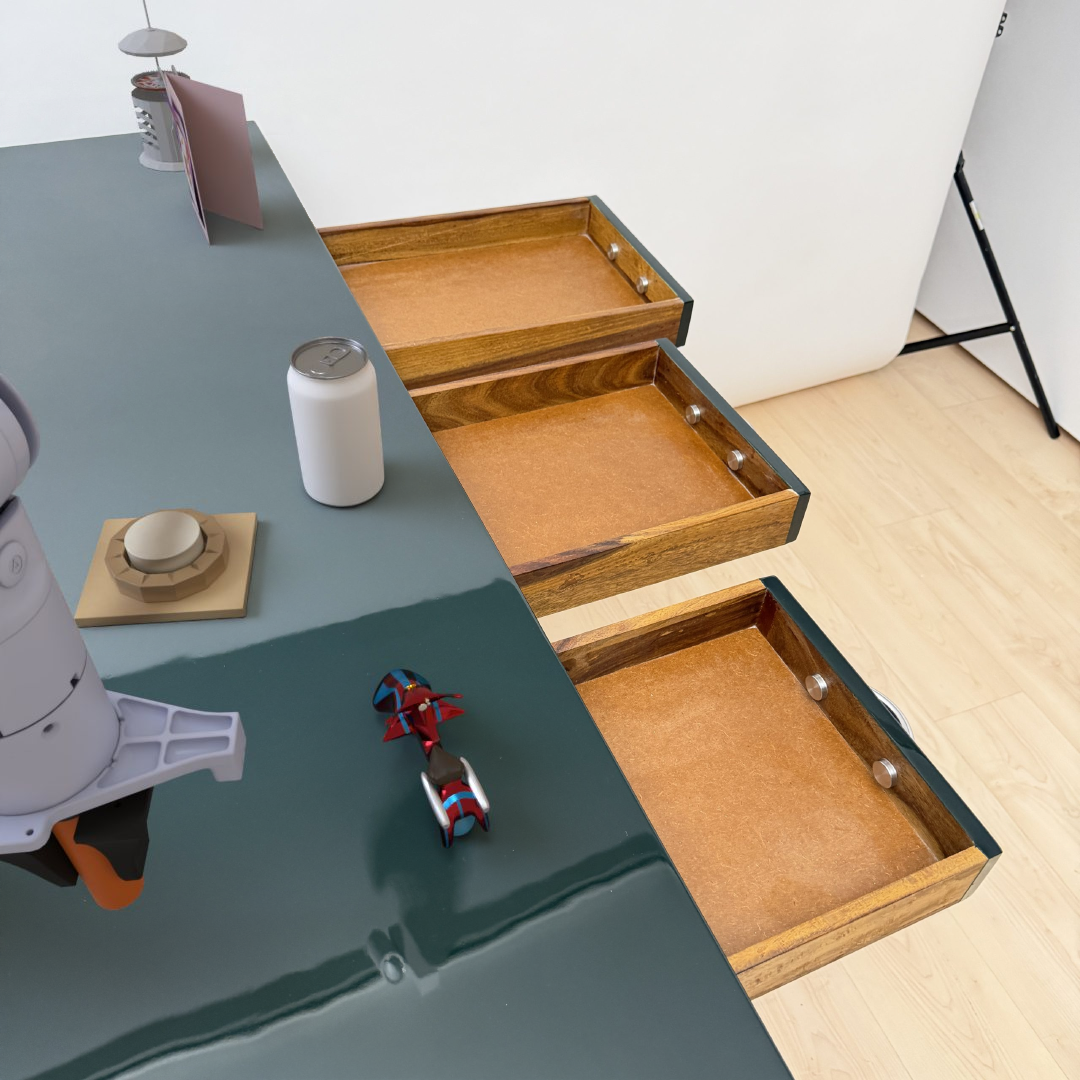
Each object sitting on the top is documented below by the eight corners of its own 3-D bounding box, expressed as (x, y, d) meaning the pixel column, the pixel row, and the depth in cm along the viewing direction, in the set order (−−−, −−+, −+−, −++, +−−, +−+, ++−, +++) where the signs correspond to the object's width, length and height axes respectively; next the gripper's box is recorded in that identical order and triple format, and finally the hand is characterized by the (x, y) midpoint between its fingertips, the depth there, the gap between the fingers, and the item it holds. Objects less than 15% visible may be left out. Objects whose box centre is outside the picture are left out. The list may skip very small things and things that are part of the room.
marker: (88, 913, 41) (22, 812, 35) (99, 866, 43) (38, 761, 37) (140, 908, 41) (84, 807, 35) (149, 861, 43) (97, 757, 37)
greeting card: (185, 206, 109) (156, 72, 99) (247, 198, 112) (225, 67, 101) (201, 246, 102) (172, 106, 91) (267, 237, 104) (246, 100, 94)
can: (288, 495, 72) (265, 367, 63) (331, 451, 76) (315, 325, 68) (359, 519, 70) (344, 390, 62) (399, 472, 74) (390, 346, 66)
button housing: (77, 627, 61) (65, 602, 59) (108, 527, 68) (99, 502, 66) (245, 617, 62) (239, 592, 60) (258, 520, 69) (252, 496, 68)
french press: (202, 139, 125) (160, -76, 108) (230, 169, 118) (190, -56, 101) (129, 150, 121) (74, -72, 103) (154, 181, 114) (98, -51, 97)
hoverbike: (432, 680, 59) (430, 624, 55) (509, 833, 51) (513, 780, 48) (357, 706, 57) (349, 650, 53) (425, 869, 50) (422, 817, 46)
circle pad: (123, 577, 61) (117, 561, 60) (136, 528, 65) (131, 512, 64) (199, 573, 62) (194, 557, 61) (208, 524, 66) (204, 508, 65)
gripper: (-298, 796, 27) (-104, 972, 36) (199, 756, 29) (263, 933, 38) (-193, 621, 32) (-46, 815, 42) (225, 598, 34) (275, 788, 44)
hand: (105, 862), depth 40 cm, fingers closed on marker, 2 cm apart
